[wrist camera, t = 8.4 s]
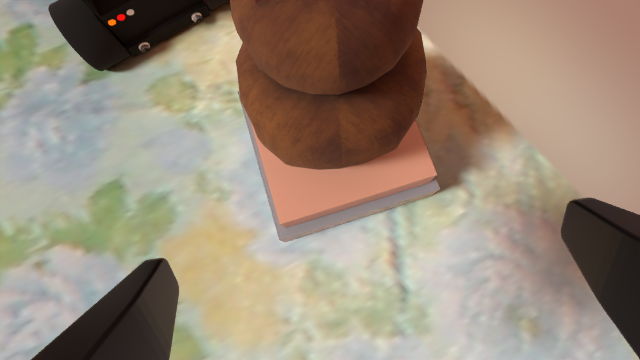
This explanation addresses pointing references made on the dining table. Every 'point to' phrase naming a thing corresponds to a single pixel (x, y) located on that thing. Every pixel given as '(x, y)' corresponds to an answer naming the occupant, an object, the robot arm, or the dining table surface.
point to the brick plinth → (343, 186)
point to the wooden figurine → (330, 77)
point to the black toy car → (123, 25)
